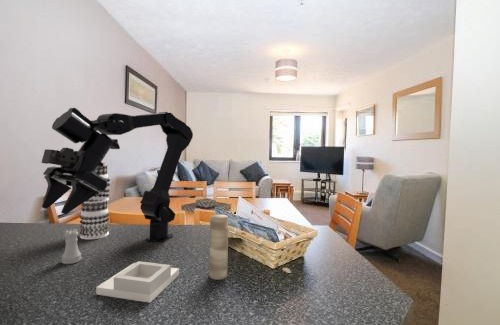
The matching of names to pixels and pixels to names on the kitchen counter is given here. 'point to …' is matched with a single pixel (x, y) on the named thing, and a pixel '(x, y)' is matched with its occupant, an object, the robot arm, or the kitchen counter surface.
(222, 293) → the kitchen counter surface
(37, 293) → the kitchen counter surface
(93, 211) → the decorative candle
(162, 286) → the socket base
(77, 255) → the rook chess piece
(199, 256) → the kitchen counter surface
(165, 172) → the robot arm
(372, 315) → the kitchen counter surface
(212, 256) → the birch post
